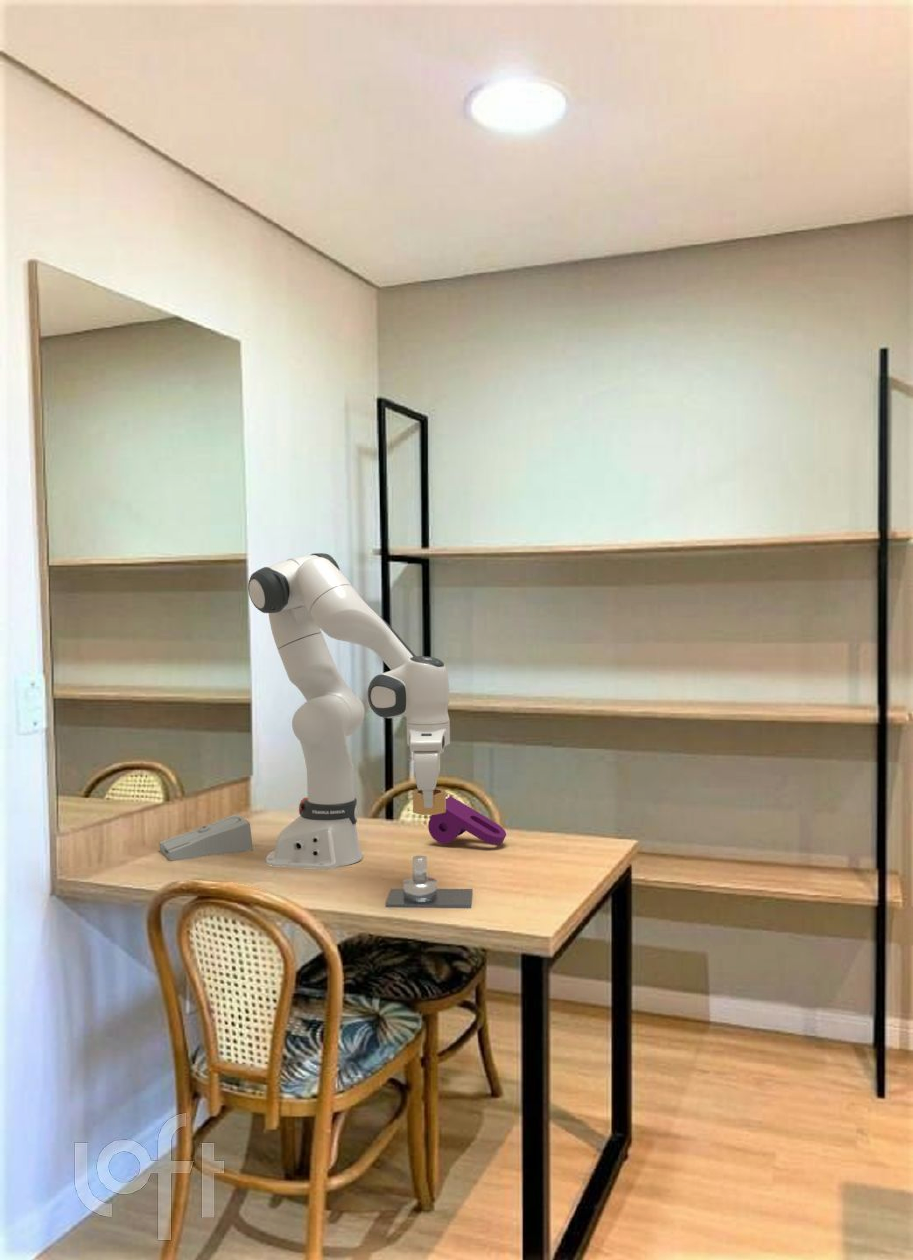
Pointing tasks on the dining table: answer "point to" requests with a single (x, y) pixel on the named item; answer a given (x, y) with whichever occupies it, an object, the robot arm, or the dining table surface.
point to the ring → (438, 802)
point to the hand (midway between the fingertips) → (429, 802)
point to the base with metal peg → (427, 891)
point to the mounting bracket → (464, 824)
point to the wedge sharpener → (210, 840)
